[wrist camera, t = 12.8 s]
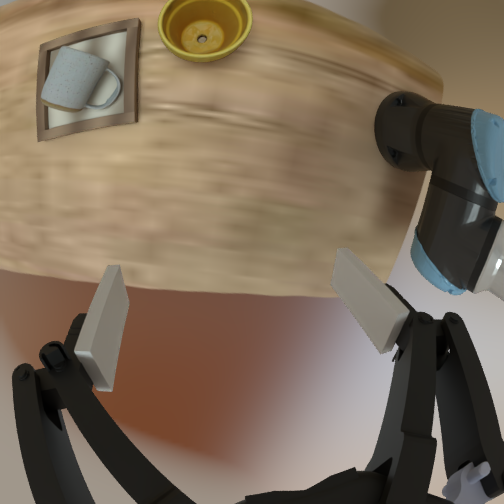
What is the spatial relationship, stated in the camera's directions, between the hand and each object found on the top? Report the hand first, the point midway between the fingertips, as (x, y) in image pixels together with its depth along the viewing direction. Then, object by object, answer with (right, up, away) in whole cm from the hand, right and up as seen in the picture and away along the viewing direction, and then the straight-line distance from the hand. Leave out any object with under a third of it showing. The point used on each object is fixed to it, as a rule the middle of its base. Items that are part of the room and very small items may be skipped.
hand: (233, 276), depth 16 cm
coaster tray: (-23, +26, +12) cm, 36 cm away
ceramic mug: (-21, +25, +12) cm, 35 cm away
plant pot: (-6, +31, +13) cm, 34 cm away
